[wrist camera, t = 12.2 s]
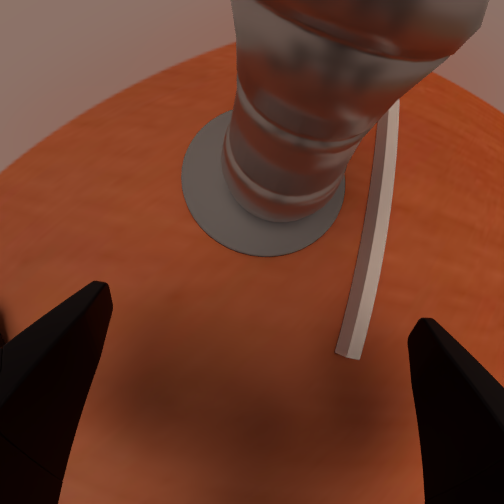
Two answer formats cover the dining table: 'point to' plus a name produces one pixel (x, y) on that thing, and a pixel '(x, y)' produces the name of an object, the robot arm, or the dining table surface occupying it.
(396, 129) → the frosted wall
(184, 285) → the dining table surface
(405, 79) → the plastic bottle
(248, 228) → the slate mat
